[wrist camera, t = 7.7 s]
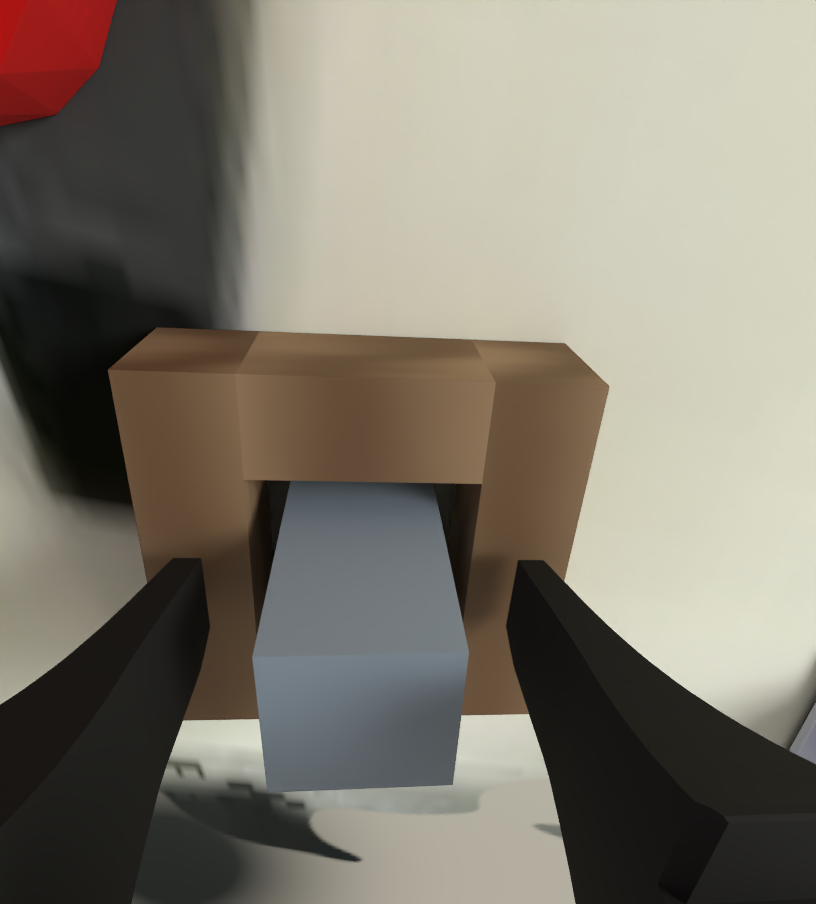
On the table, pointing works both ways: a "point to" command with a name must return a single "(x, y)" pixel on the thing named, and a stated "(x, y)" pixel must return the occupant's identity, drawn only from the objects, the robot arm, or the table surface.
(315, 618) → the peg
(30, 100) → the toy
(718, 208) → the table surface
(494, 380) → the socket block
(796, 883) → the robot arm
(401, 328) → the table surface
